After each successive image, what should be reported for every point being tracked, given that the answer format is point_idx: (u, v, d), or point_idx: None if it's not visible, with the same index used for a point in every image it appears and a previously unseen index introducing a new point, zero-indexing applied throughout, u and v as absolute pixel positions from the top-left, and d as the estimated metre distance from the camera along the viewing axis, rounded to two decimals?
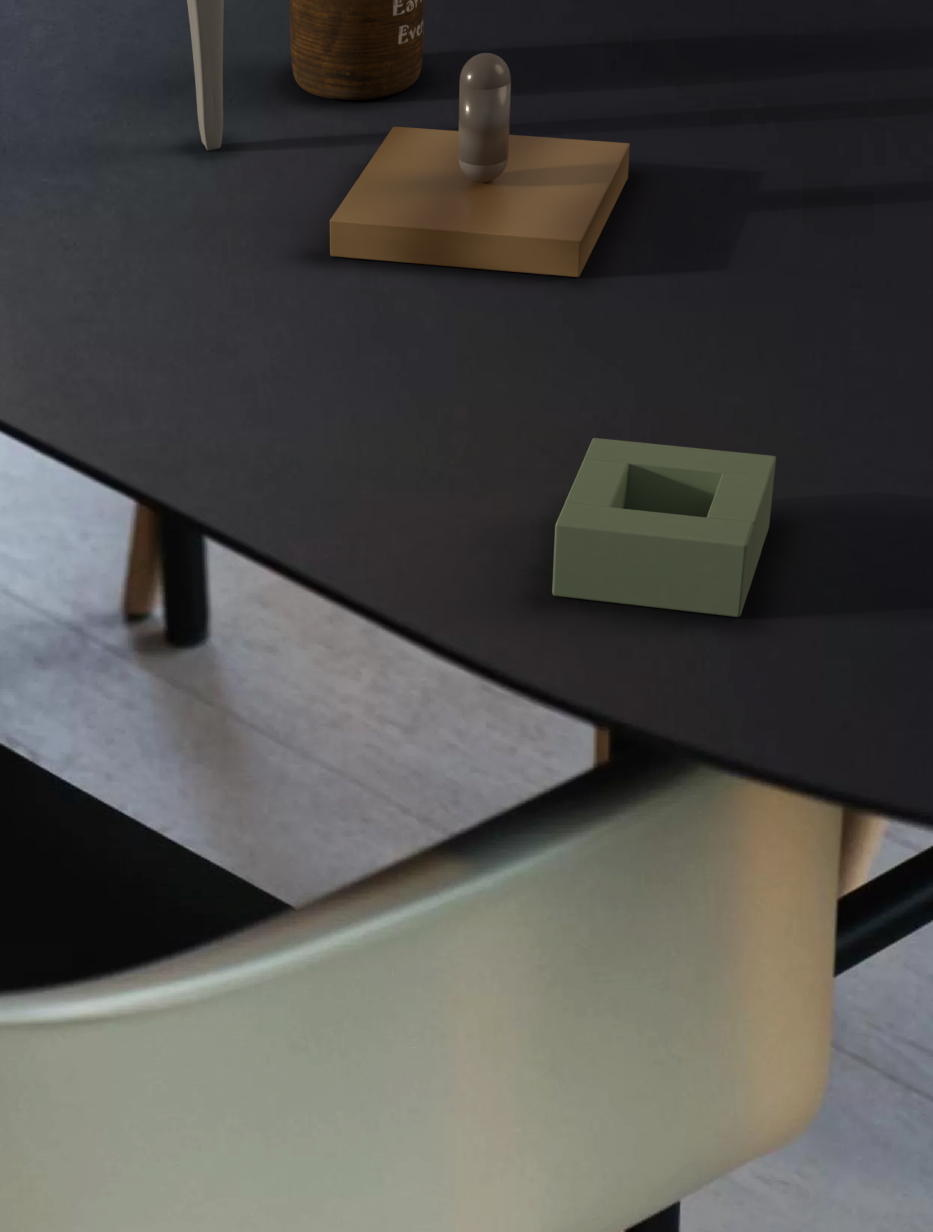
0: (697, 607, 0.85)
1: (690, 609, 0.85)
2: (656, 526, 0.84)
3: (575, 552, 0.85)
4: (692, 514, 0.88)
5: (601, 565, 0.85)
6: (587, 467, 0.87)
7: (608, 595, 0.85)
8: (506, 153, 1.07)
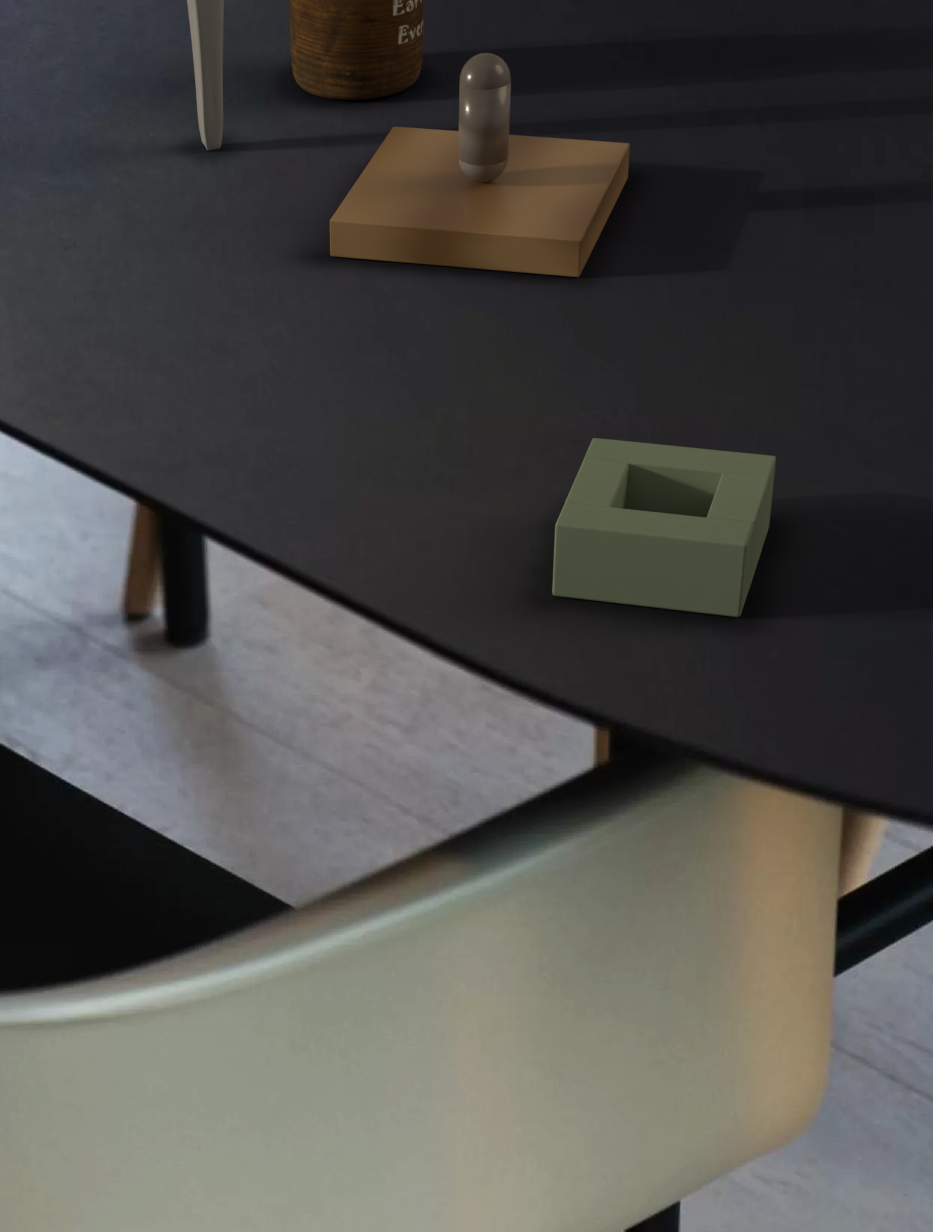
0: (697, 607, 0.85)
1: (690, 609, 0.85)
2: (656, 526, 0.84)
3: (575, 552, 0.85)
4: (692, 514, 0.88)
5: (601, 565, 0.85)
6: (587, 467, 0.87)
7: (608, 595, 0.85)
8: (506, 153, 1.07)
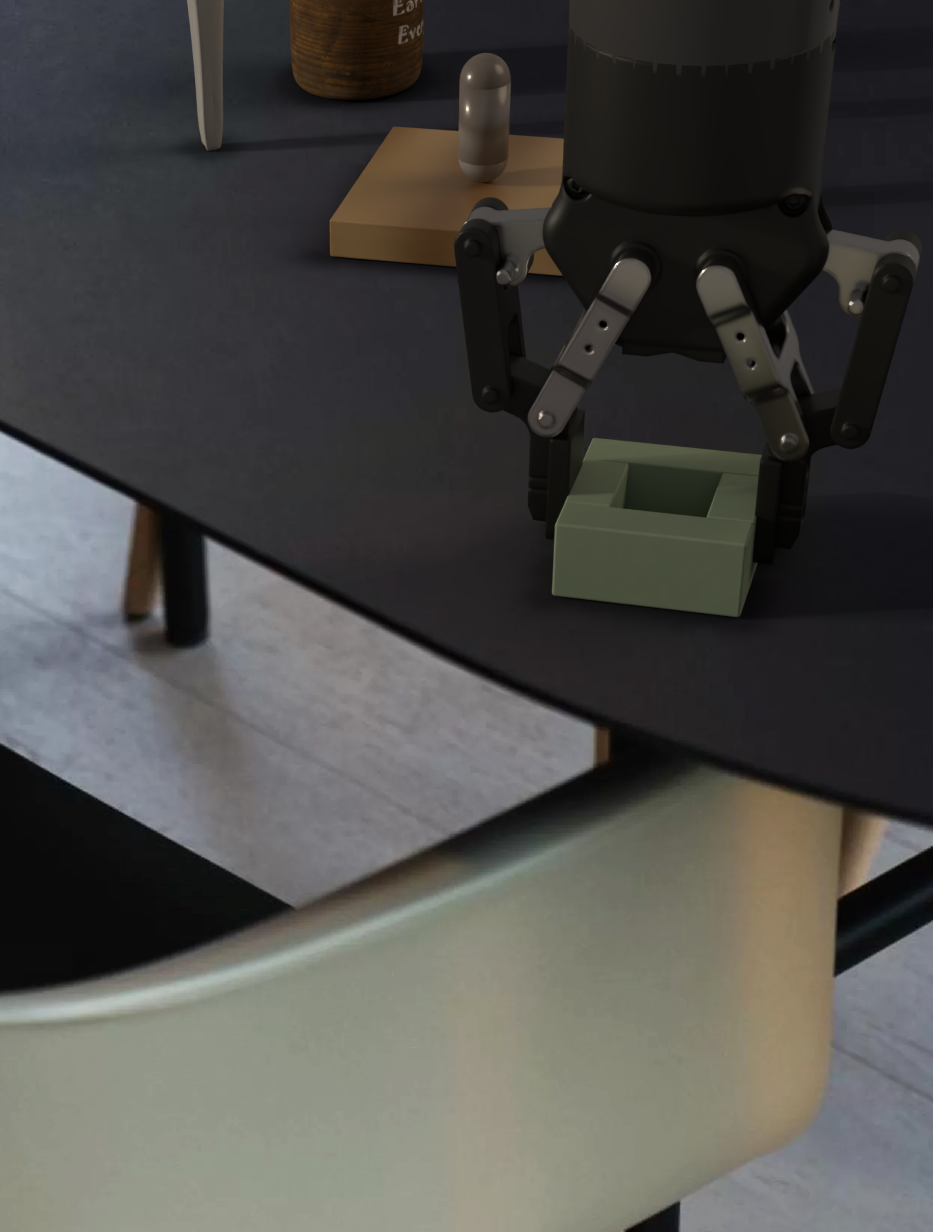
0: (697, 607, 0.85)
1: (690, 609, 0.85)
2: (656, 526, 0.84)
3: (575, 552, 0.85)
4: (692, 514, 0.88)
5: (601, 565, 0.85)
6: (587, 467, 0.87)
7: (608, 595, 0.85)
8: (506, 153, 1.07)
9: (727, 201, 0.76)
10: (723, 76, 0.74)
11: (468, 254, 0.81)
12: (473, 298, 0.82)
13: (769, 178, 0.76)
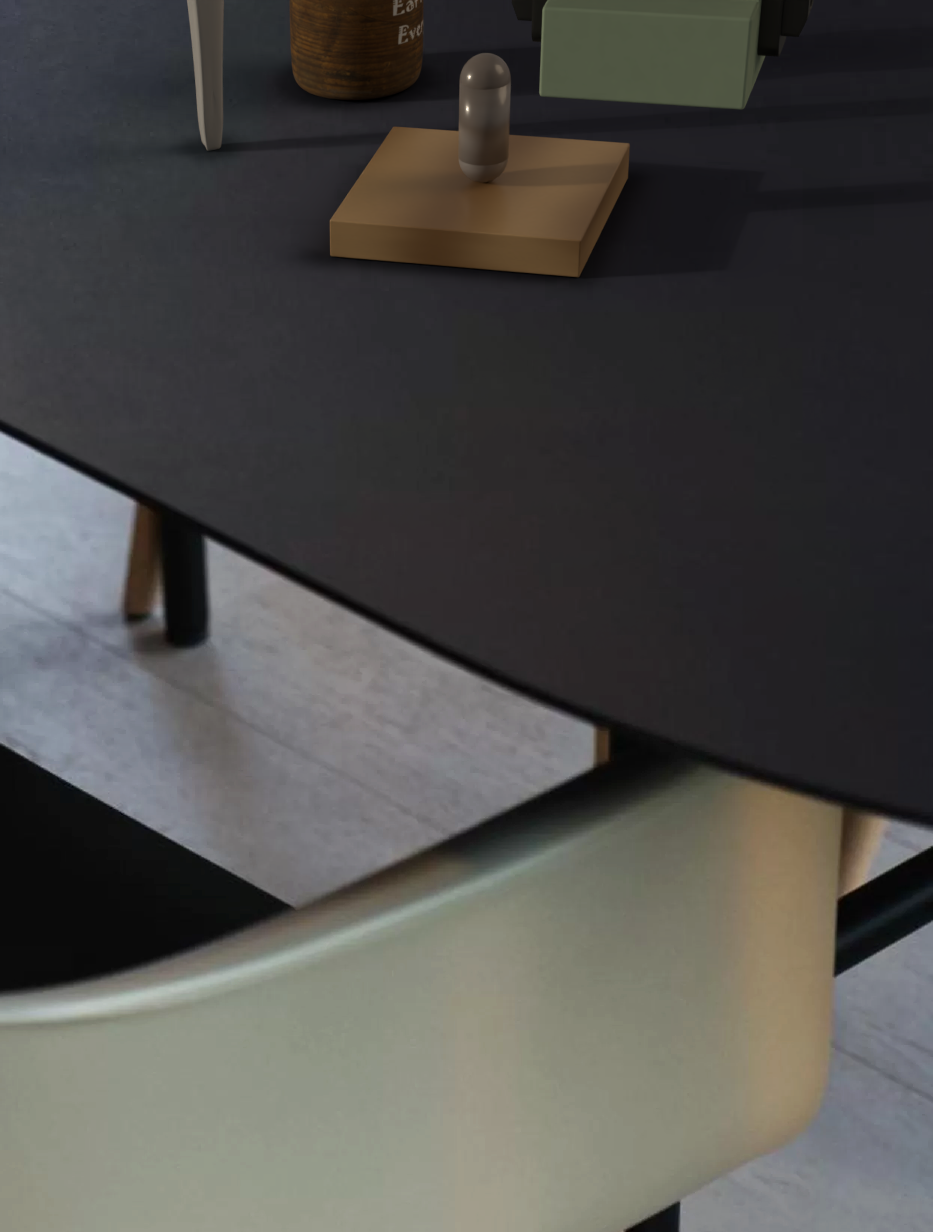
0: (697, 100, 0.78)
1: (690, 103, 0.78)
2: (652, 6, 0.77)
3: (564, 40, 0.78)
4: None
5: (593, 55, 0.78)
6: None
7: (600, 91, 0.78)
8: (506, 153, 1.07)
9: None
10: None
11: None
12: None
13: None
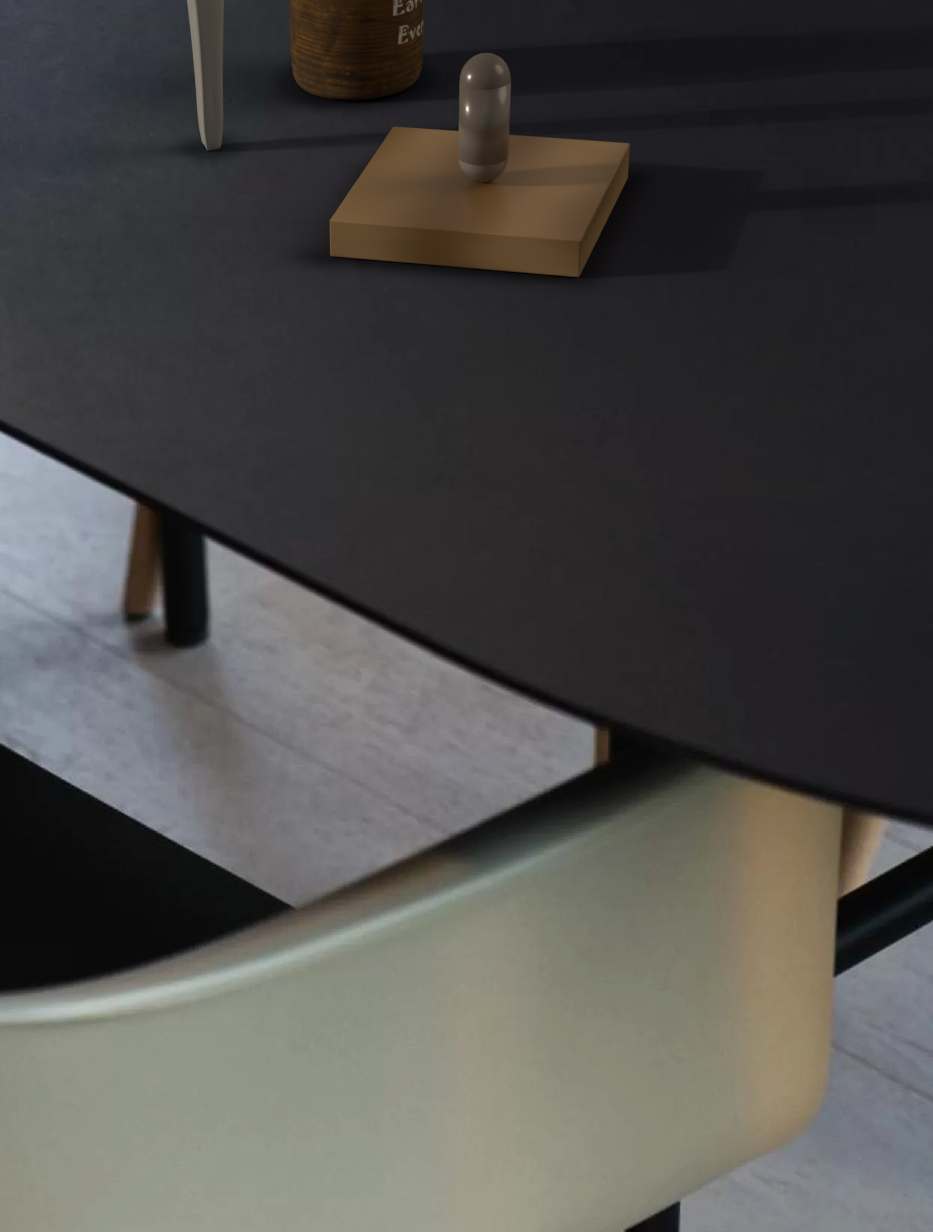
0: None
1: None
2: None
3: None
4: None
5: None
6: None
7: None
8: (506, 153, 1.07)
9: None
10: None
11: None
12: None
13: None
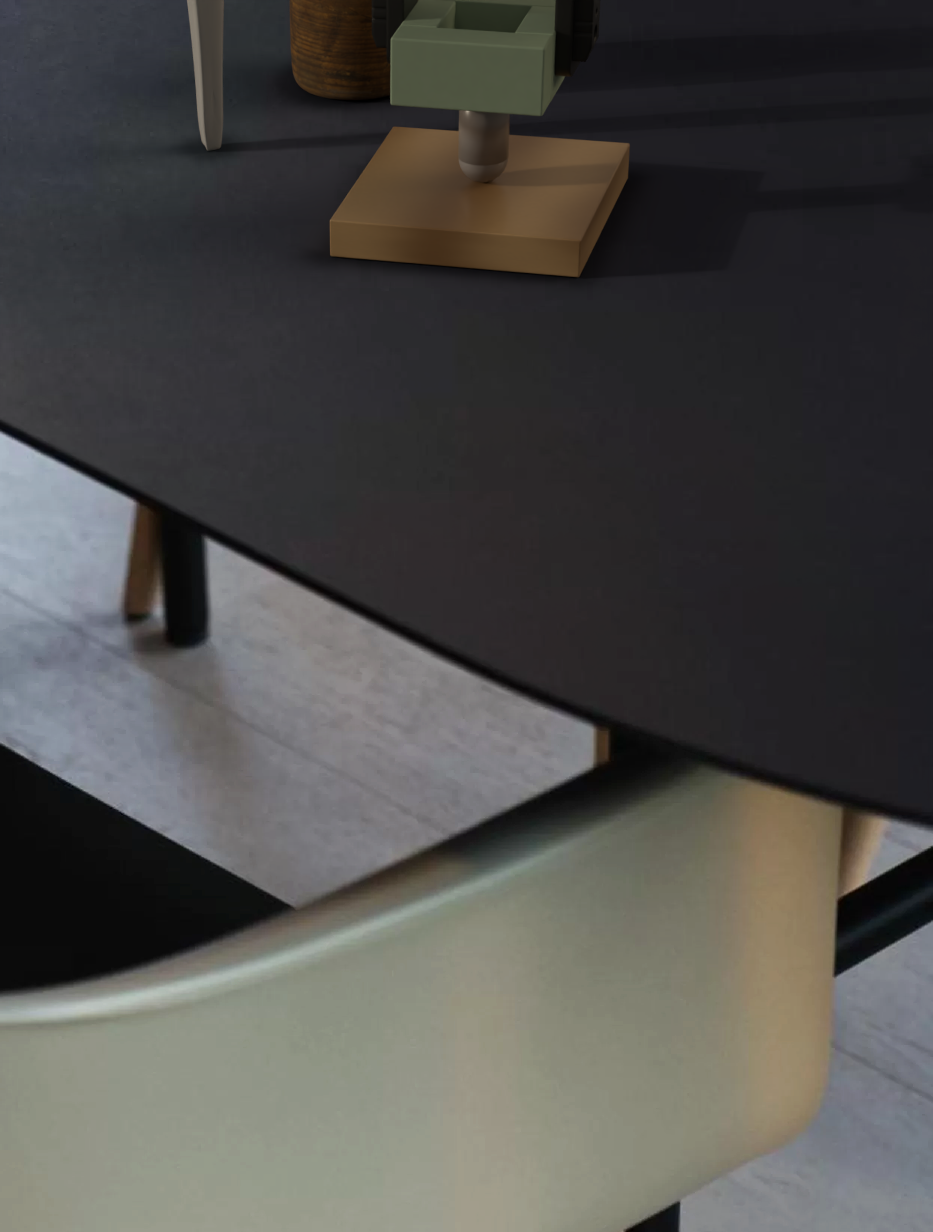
0: (507, 108, 1.03)
1: (502, 111, 1.03)
2: (472, 38, 1.02)
3: (407, 63, 1.03)
4: None
5: (429, 74, 1.03)
6: (421, 3, 1.05)
7: (435, 101, 1.04)
8: (506, 153, 1.07)
9: None
10: None
11: None
12: None
13: None
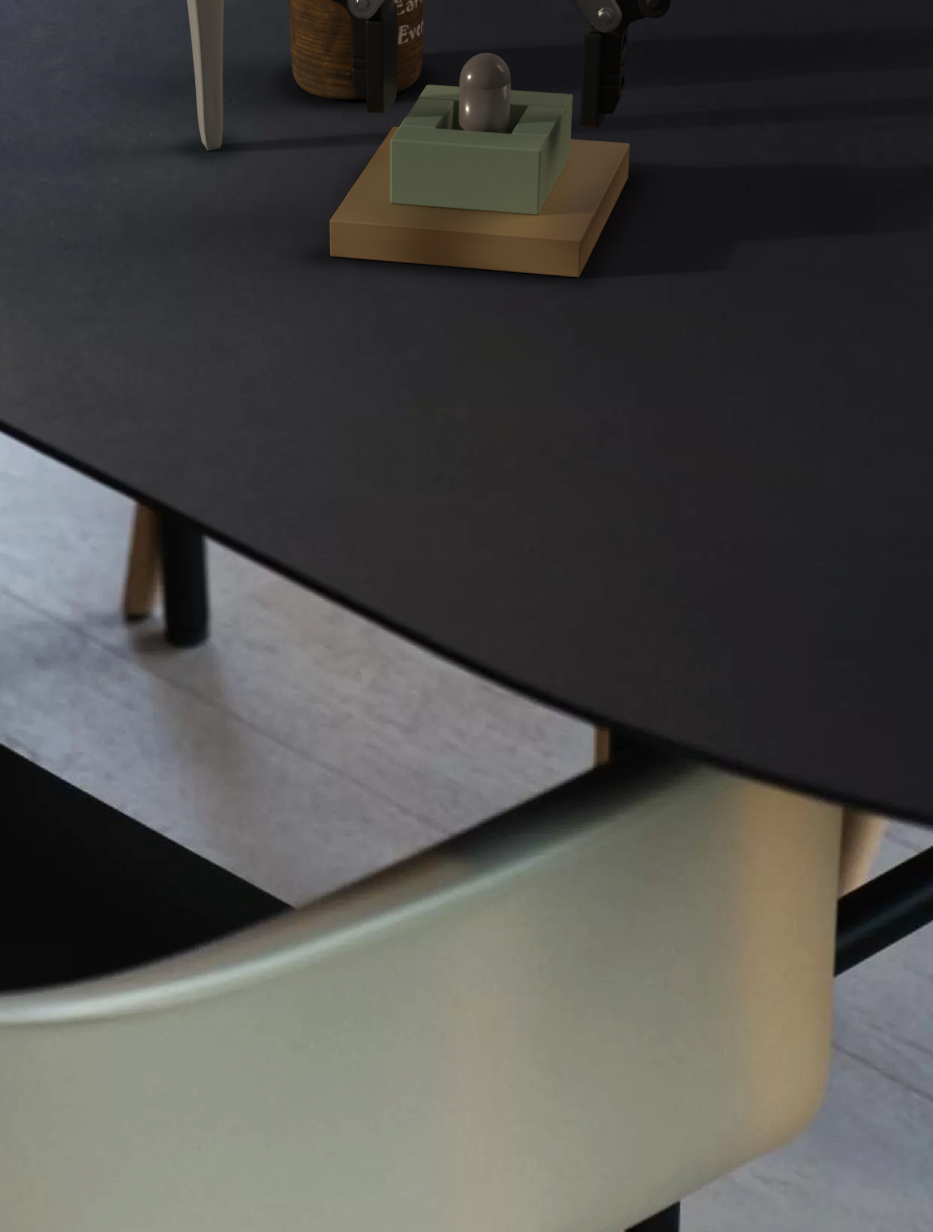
0: (505, 207, 1.05)
1: (499, 209, 1.06)
2: (470, 139, 1.05)
3: (407, 163, 1.05)
4: None
5: (428, 174, 1.06)
6: (420, 103, 1.08)
7: (434, 200, 1.06)
8: None
9: None
10: None
11: None
12: None
13: None
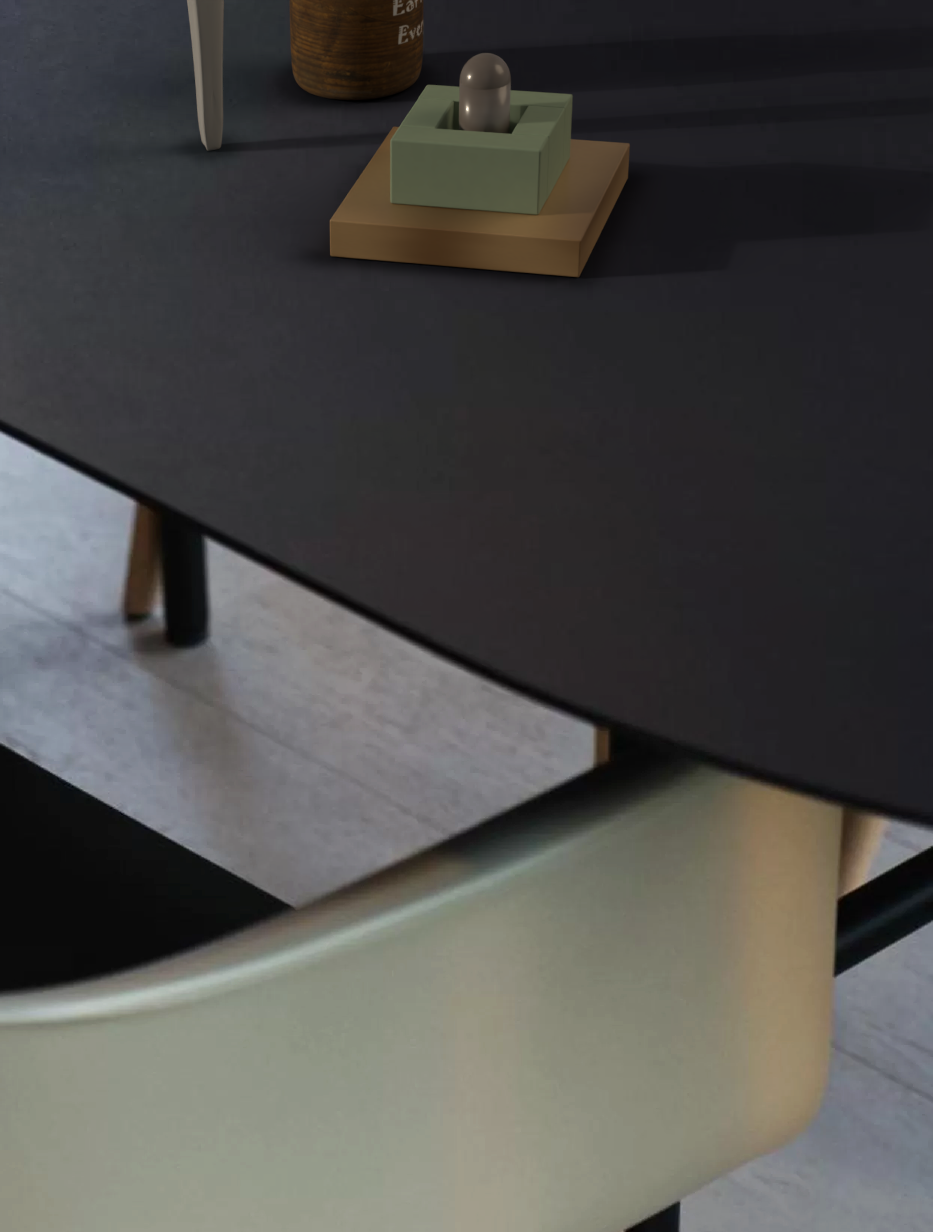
0: (505, 207, 1.05)
1: (499, 209, 1.06)
2: (470, 139, 1.05)
3: (407, 163, 1.05)
4: None
5: (428, 174, 1.06)
6: (420, 103, 1.08)
7: (434, 200, 1.06)
8: None
9: None
10: None
11: None
12: None
13: None
